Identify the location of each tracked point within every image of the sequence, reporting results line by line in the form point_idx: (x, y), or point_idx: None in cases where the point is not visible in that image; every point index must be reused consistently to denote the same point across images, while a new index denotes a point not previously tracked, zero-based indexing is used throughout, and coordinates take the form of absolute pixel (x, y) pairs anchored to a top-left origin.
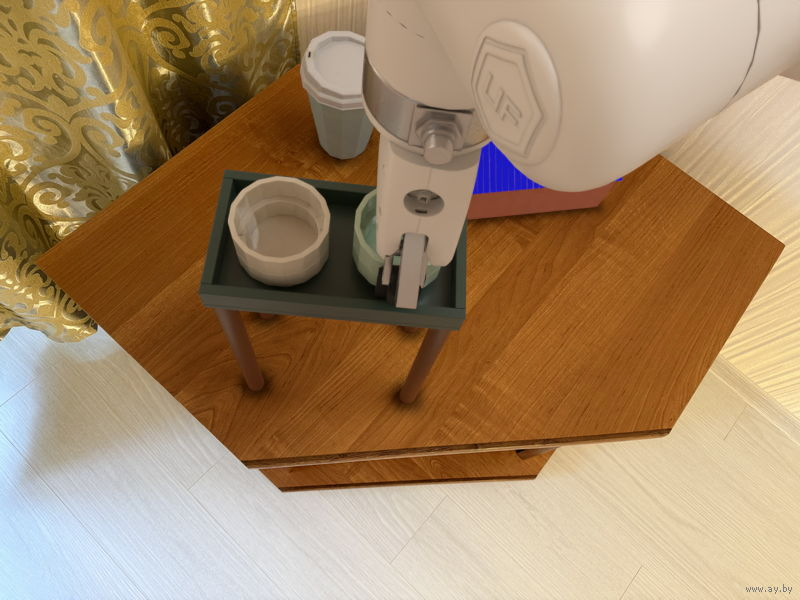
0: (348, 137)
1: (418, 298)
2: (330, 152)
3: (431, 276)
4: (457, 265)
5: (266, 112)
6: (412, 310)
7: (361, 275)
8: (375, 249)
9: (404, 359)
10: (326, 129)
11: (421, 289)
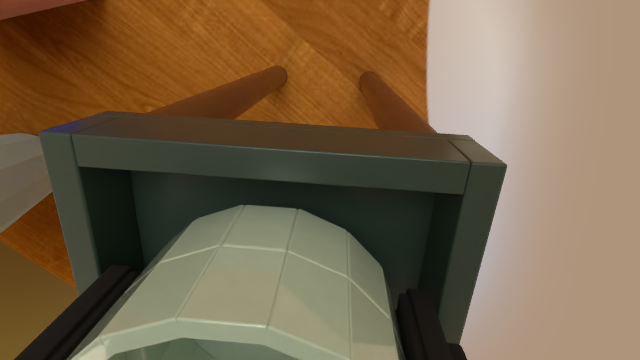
0: (25, 177)
1: (432, 301)
2: None
3: (371, 281)
4: (310, 180)
5: (32, 245)
6: (460, 307)
7: None
8: (272, 357)
9: (322, 84)
10: (24, 208)
11: (449, 353)
